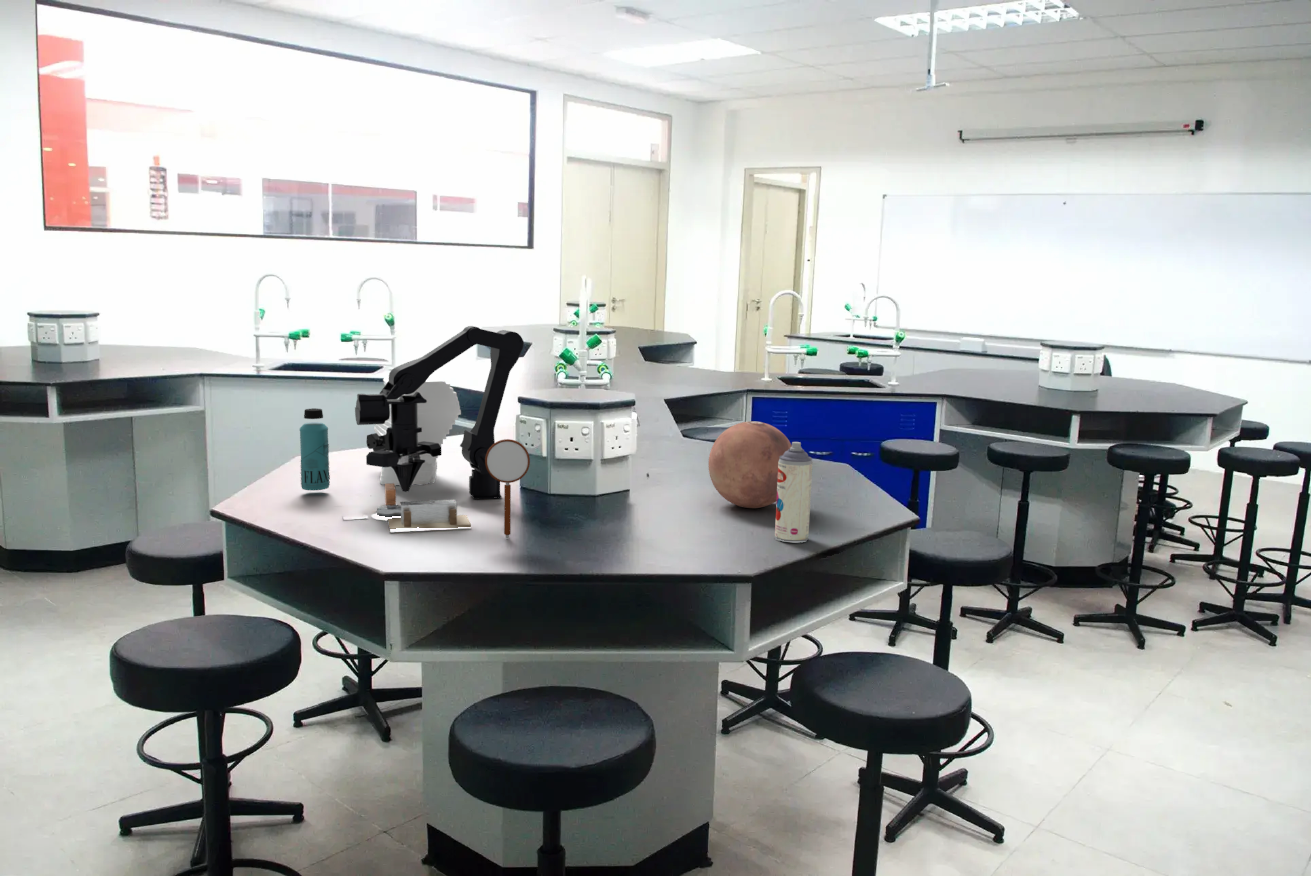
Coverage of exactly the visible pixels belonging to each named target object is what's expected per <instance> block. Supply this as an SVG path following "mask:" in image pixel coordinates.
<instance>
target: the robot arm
mask: <svg viewBox="0 0 1311 876" xmlns="http://www.w3.org/2000/svg"><path fill="white" fill-rule="evenodd" d="M476 345H480V346H483V347H488V348H490V350H489V351H490V352H489V354H490V370H489V373H488V377H487V380H486V384H485V388H484V391H483V395H482V399H481V403H480V406H479V408H478V413H477V418H476V420H475V424H474V426H473V427H472V428H471V430H470V431H469V430H467V429H465V430H464V432H463V437H462V441H461V443H460V444H459V447H460V448H461V455H462V457H463V458H464V460H465V461H467V462H468V463H469V465H470V467H471V475H470V476H468V477H469V479H468V487H469V488H468V490H469V491H468V494H469V495H470V496H471V497H472V499H473V500H487V499H488V500H489V499H502V495H501V482H500V481H498V480H496V479H494V478H493V477H492V476H491V475H490V474H489V472H488V470H487V468H486V464H485V458H486V454H487V451H488V450H489V448H490V447H491V446H492V445H493V444H494V443H496V442H495V427H496V423H497V420H498V417H499V412H500V408H501V404H502V402H503V397H504V395H505V390H506V387H507V383H508V380H509V377H510V372H511V371H512V369H513V368H514V366H515V365H516V363H517V362H519V358H520V357H521V354H522V352H523V350H524V348H525V346H524V345H525V342H524V338H522V336H521V335H520V334H519V333H518V332H515V331H512V330H506V329H502V330H499V331H496V332H495V331H491V330H486V329H482V328H480V327H477V326H473V325H467V326H465V327H464V328H463V329H462V330H461V331H459V332H458V333H457V334H455V335H453V336H452V337H451V338H449V339H447V340H446V341H444V342H442V344H440V345H438V346H437V347H435V348H434V349H432V350H430V351H429V352H428V353H425V354H424V355H423V356H421V357H419V358H416V359H413V360H410V361H407V362H405V363H403V364H400V365H398V366H395V367H394V368H392V370H390V372H389V375H388V377H389V378H388V379H389V381H388V382H387V384H386V385H383V388H382V389H381V390H380V392H379V393H376V394H374V393H373V394H371V393H369V394H368V393H367V394H366V393H357V395H356V402H355V407H354V414H355V415H354V416H355V422H356V425H358V426H367V425H368V426H369V425H375V424H384V423H385V421H388V419H389V417H390V407H389V404H391V427H389V428H387V430H386V435H383V436H379V435H378V434H377V433H376V432H375V433H371V434H367V435H366V446H367V449H368V450H373V451H370V452H368V453H367V454H366V456H365V457H366V458H365V459H366V462H365V463H366V465H367V466H373V467H380V468H382V467H392V468H393V469H394V471H395V473H396V475H397V478H398V481H399V483H400V488H401V490H402V492H404V493H408V492H409V491H410V489H411V486H413V485H412V483H413V481H414V478H415V476H416V474H417V473H418V471H419V469H420V467H421V466H422V464H423V463H425V460H421V459H420V455H422V454H426V453H427V454H430V455H431V456H432V457H436V456H438V457H440V456H442V445H441V446H440V445H439V444H438V443H433V442H425V441H423V442H418V433H419V432H422V428H421V427H418V411H417V403H426V402H427V400H426V399H424V398H423V397H422V396H421V394H420V393H419V392H416V393H415V394H414V395H406V396H402V395H404V394H411V393H413V392H415V391H416V390H417V389H418V388H419V387H420V386H421V385H422V384H423V383H425V381H426V380H427V379H428V378H429V376H430V375H433V373H435V371H437V370H439V369H440V368H442V367H443V366H446V364H448V363H450V362H451V361H453V360H454V359H455V358H457V357H459V356H460V355H462V354H463V353H465V352H466V351H468V350H469V349H471V348H472V347H474V346H476ZM399 397H400V399H399V400H396V399H398V398H399ZM391 451H392V452H391ZM401 454H402V455H401Z"/></svg>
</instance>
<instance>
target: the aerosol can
mask: <svg viewBox="0 0 1311 876" xmlns="http://www.w3.org/2000/svg"><path fill="white" fill-rule="evenodd" d="M791 445H792V447H790V449H788V451H786V452H785V453H784V455H782V456H780V457H779V458H780V459H779V462H778V481H777V501H776V502H775V505H776V508H775V525H774V526H775V527H774V538H775V537H776V538H777V539H781V540H784V541H807V540H808V541H809V533H810V517H811V516H810V513H811V497H812V496H811V495H812V494H811V493H812V482H813V481H812V479H813V458H812V457H811V456H809V454H808V452H806V451H805V449H803V447H802V446H801V445H802V443H801V441H800V442H799V441H792V442H791Z"/></svg>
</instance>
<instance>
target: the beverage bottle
mask: <svg viewBox="0 0 1311 876" xmlns="http://www.w3.org/2000/svg"><path fill="white" fill-rule="evenodd" d="M323 418H324V414H323V409H322V408H305V409H304V414H303V419H307V420H319V419H323ZM299 441H300V446H299V447H300V466H299V467H300V487H301V489H302V490H304V491H321V490H322V491H324V490H327V489H329V487H330V485H331V484H330V480H331V479H330V478H331V475H330V471H331V470H330V468H331V467H330V460H329V459H330V457H329V454H330V450H329V448H330V445H329V428H328V426H327V425H326V424H325V423H323V422H318V421H317V422H306V423H303V424H302V425H301V426H300V427H299Z"/></svg>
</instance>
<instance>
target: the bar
mask: <svg viewBox="0 0 1311 876" xmlns="http://www.w3.org/2000/svg"><path fill="white" fill-rule="evenodd" d="M399 505H400V506H401V524H402V525H404V512H405V511H411V524H428V523H448V522H450V509H456V510H457V509H458V506H457V505H458V504H457V501H456V499H440V500H438V499H437V500H436V499H435V500H414V501H400V504H399ZM457 511H458V510H457Z"/></svg>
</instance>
